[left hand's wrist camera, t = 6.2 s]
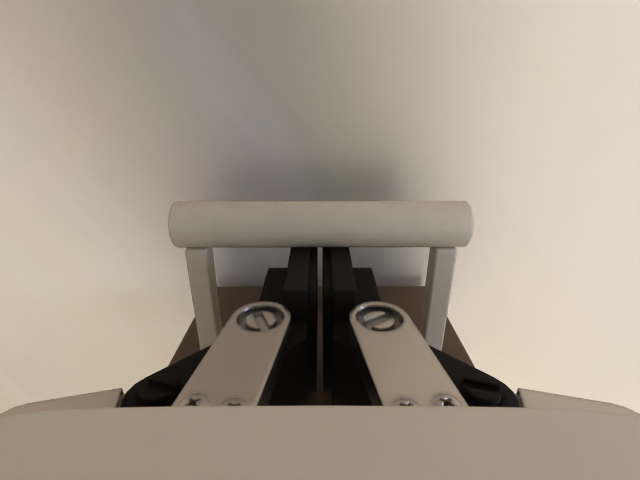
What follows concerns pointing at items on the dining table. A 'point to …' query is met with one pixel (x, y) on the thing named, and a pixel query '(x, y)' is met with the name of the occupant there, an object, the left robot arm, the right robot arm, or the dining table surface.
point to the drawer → (321, 231)
